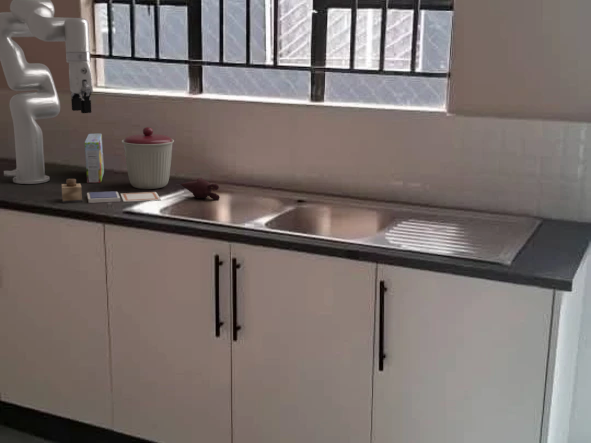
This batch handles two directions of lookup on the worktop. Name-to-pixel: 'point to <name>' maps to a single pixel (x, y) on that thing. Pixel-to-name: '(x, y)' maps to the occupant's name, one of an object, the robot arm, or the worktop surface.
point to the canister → (148, 159)
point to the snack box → (94, 158)
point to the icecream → (202, 189)
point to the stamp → (71, 191)
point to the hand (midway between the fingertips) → (81, 111)
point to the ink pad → (103, 197)
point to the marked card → (139, 196)
